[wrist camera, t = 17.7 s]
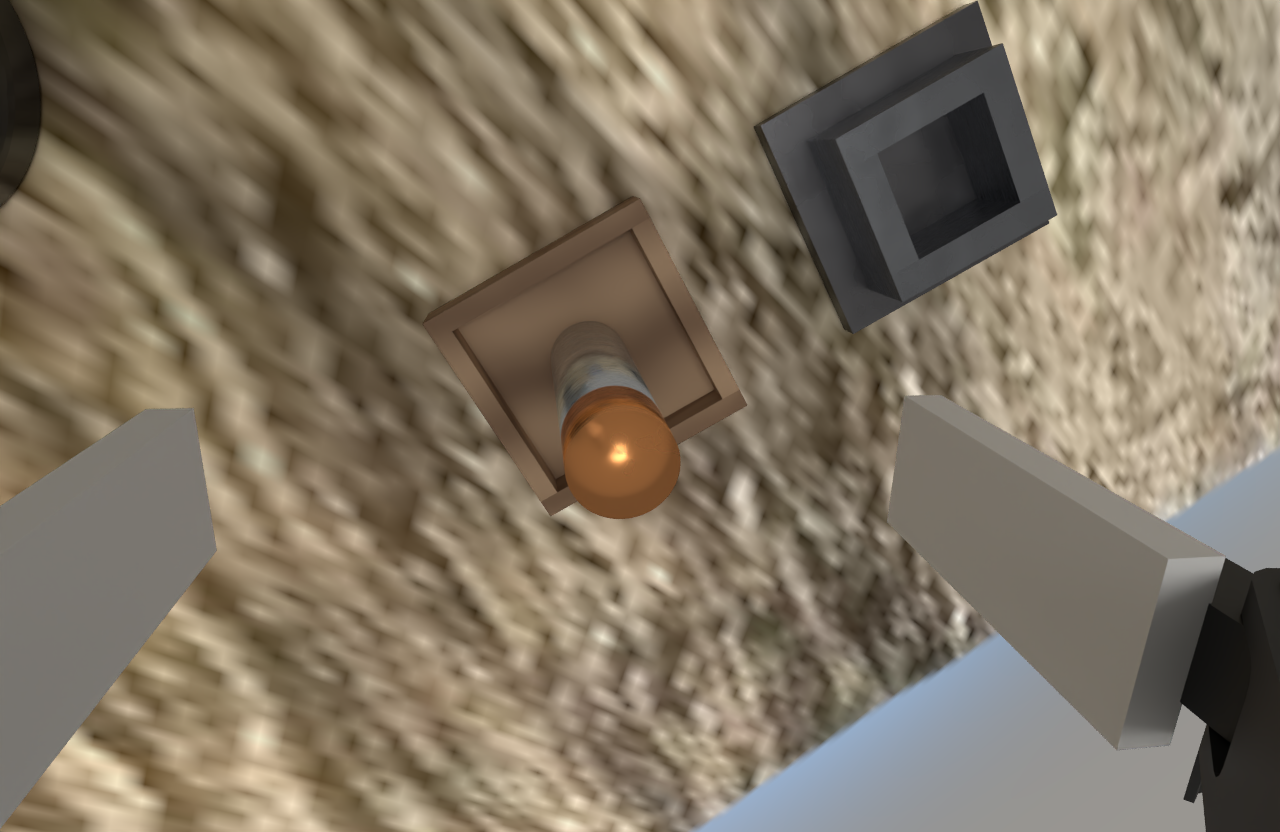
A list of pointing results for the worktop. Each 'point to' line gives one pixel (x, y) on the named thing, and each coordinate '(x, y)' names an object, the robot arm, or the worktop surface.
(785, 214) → the worktop surface
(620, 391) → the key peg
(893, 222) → the block
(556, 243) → the tray
